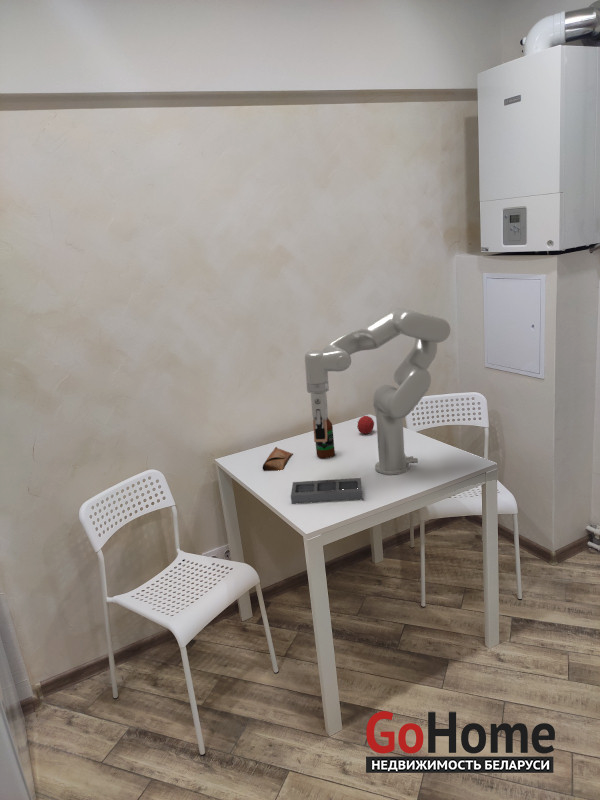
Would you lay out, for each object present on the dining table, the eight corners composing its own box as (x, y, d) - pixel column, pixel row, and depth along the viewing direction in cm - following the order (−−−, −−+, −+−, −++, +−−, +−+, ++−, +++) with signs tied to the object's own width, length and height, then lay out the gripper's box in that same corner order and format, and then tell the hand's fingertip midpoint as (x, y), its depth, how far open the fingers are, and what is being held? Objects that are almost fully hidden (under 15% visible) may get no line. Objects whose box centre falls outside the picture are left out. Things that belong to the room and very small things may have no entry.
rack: (361, 485, 215) (360, 477, 214) (362, 499, 205) (362, 491, 204) (293, 489, 217) (292, 482, 216) (291, 503, 207) (290, 495, 206)
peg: (327, 437, 218) (326, 415, 216) (326, 441, 214) (325, 419, 212) (315, 437, 219) (313, 416, 216) (314, 442, 214) (312, 420, 212)
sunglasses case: (284, 470, 234) (273, 457, 233) (269, 479, 237) (259, 465, 236) (294, 453, 251) (284, 440, 250) (280, 461, 253) (271, 448, 253)
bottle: (314, 458, 243) (309, 398, 236) (319, 451, 250) (313, 393, 243) (332, 459, 241) (327, 398, 234) (336, 452, 248) (331, 393, 241)
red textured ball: (374, 414, 261) (358, 410, 265) (366, 429, 258) (350, 424, 262) (378, 424, 268) (362, 419, 271) (370, 439, 265) (355, 434, 268)
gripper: (327, 392, 202) (330, 444, 207) (329, 379, 218) (332, 428, 224) (305, 393, 203) (308, 445, 208) (308, 380, 219) (311, 429, 224)
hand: (320, 435), depth 216 cm, fingers closed on peg, 4 cm apart
